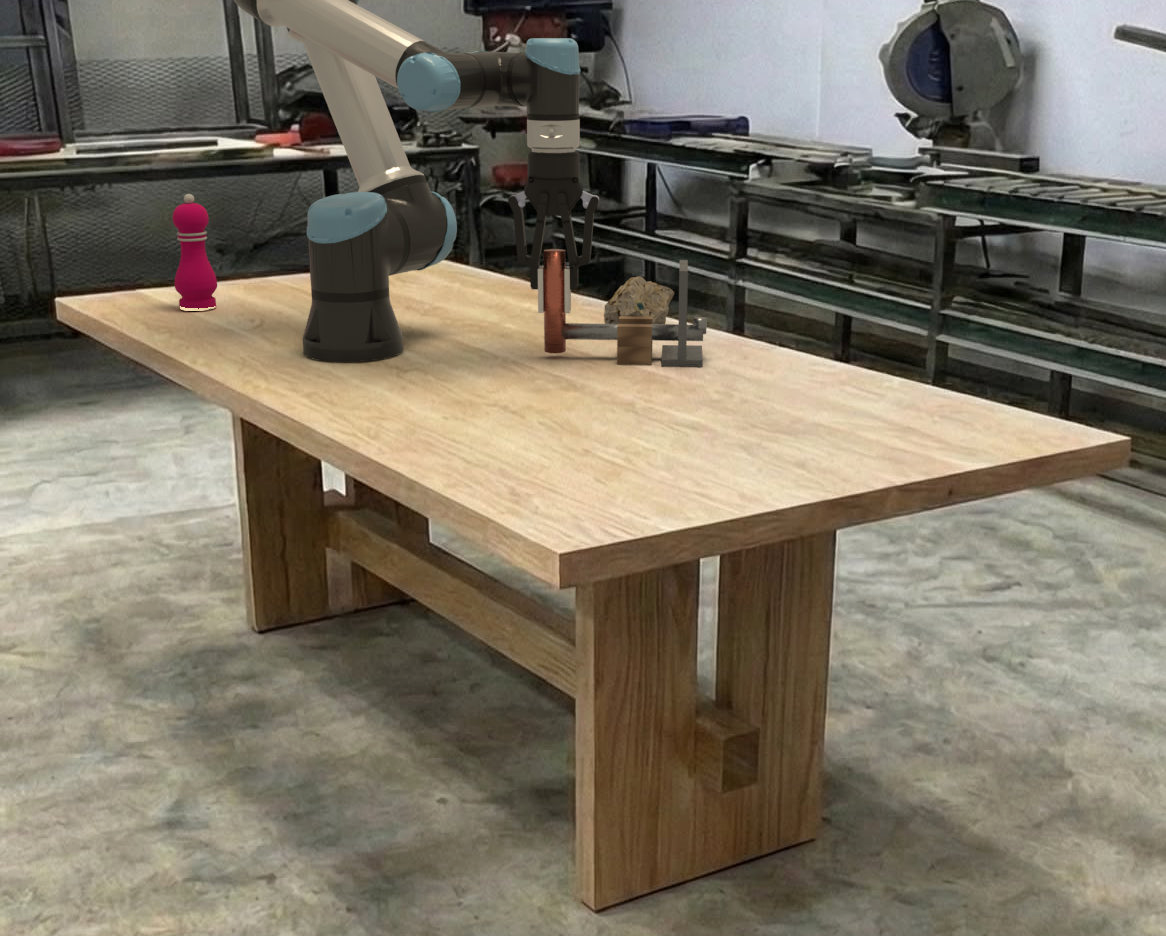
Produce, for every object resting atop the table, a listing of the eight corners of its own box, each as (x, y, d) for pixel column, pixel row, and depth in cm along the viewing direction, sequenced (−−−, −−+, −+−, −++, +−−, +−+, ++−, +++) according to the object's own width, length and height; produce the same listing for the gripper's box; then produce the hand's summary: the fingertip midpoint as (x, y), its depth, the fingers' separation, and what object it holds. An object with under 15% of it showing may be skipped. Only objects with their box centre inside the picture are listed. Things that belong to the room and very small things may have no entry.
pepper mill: (168, 311, 251) (158, 195, 245) (191, 304, 257) (181, 190, 252) (205, 313, 249) (195, 196, 243) (226, 306, 255) (218, 192, 250)
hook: (543, 353, 214) (542, 252, 209) (545, 348, 217) (544, 248, 212) (706, 355, 212) (708, 253, 208) (705, 350, 215) (708, 250, 211)
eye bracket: (661, 366, 210) (662, 270, 206) (662, 351, 219) (663, 259, 215) (702, 366, 209) (704, 271, 205) (701, 352, 219) (703, 260, 215)
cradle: (617, 364, 211) (617, 326, 209) (619, 352, 219) (619, 316, 217) (651, 364, 211) (651, 327, 209) (652, 352, 218) (652, 316, 217)
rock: (619, 332, 227) (631, 270, 227) (596, 331, 232) (608, 270, 232) (679, 348, 233) (691, 288, 233) (655, 347, 239) (666, 287, 239)
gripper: (494, 151, 203) (497, 315, 210) (609, 152, 203) (608, 316, 209) (500, 147, 211) (502, 306, 218) (611, 148, 210) (610, 307, 217)
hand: (554, 310), depth 213 cm, fingers closed on hook, 3 cm apart
